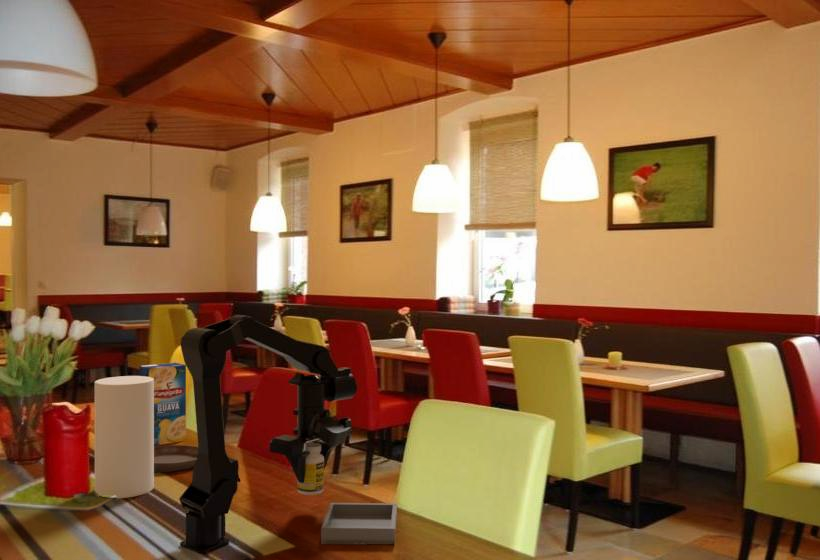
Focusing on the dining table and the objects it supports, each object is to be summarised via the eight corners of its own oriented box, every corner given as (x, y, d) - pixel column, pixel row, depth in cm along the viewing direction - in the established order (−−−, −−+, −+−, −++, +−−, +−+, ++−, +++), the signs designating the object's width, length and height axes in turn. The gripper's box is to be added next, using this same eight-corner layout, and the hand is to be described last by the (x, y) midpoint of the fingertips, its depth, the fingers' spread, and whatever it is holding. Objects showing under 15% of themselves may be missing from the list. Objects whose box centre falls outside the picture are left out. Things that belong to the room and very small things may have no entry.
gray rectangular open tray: (394, 544, 130) (394, 528, 130) (321, 543, 130) (321, 527, 130) (396, 518, 143) (396, 503, 143) (330, 517, 144) (330, 502, 144)
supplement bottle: (318, 496, 144) (319, 448, 143) (293, 494, 145) (294, 447, 145) (327, 488, 149) (327, 442, 149) (303, 486, 150) (303, 440, 150)
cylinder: (147, 497, 155) (147, 384, 154) (87, 499, 153) (87, 385, 153) (159, 480, 167) (158, 375, 167) (103, 482, 166) (103, 376, 165)
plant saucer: (203, 453, 193) (203, 441, 192) (209, 470, 176) (209, 458, 176) (133, 459, 186) (133, 447, 186) (133, 478, 170) (133, 465, 170)
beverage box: (139, 442, 202) (139, 365, 202) (175, 436, 210) (175, 362, 209) (149, 446, 197) (149, 368, 197) (186, 440, 205) (186, 365, 204)
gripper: (309, 417, 134) (308, 498, 135) (369, 402, 150) (368, 475, 150) (267, 410, 141) (267, 487, 141) (329, 396, 156) (329, 466, 156)
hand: (310, 479), depth 147 cm, fingers closed on supplement bottle, 5 cm apart
